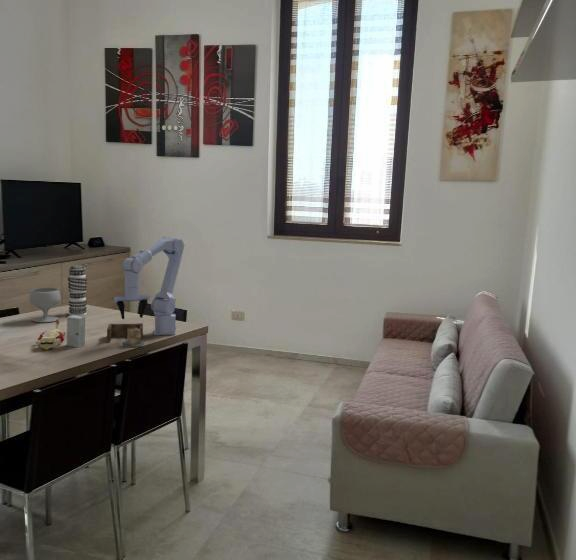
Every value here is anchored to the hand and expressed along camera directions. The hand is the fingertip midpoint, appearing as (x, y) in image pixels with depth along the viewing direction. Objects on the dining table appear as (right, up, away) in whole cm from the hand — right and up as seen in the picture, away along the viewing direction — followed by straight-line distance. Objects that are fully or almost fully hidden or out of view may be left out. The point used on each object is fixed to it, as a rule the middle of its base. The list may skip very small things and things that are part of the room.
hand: (132, 317), depth 235 cm
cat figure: (-32, -10, -5) cm, 34 cm away
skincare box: (-21, -11, -8) cm, 25 cm away
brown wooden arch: (-4, -9, +5) cm, 12 cm away
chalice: (-51, -4, +32) cm, 60 cm away
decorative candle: (-41, -2, +47) cm, 63 cm away
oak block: (+2, -10, -3) cm, 11 cm away
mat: (+2, -11, -3) cm, 12 cm away
